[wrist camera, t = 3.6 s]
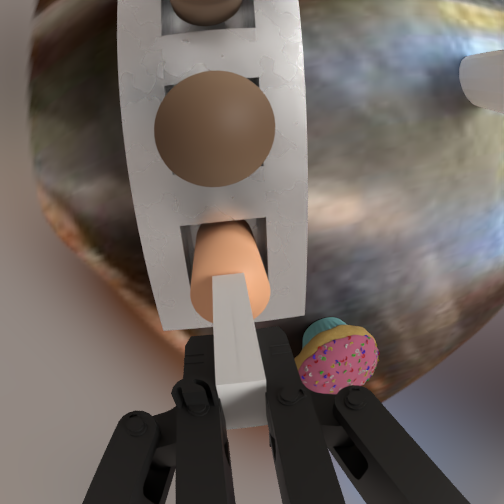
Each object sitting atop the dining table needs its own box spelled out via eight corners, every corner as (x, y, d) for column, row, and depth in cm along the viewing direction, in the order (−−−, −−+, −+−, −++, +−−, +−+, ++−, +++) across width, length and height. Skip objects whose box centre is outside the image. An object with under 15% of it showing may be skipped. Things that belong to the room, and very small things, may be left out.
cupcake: (372, 328, 31) (423, 409, 20) (314, 372, 33) (346, 458, 22) (331, 286, 28) (389, 380, 17) (266, 340, 29) (291, 442, 19)
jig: (140, -18, 14) (121, -52, 9) (271, -29, 15) (289, -65, 10) (171, 286, 25) (163, 330, 20) (286, 273, 26) (304, 315, 21)
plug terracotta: (192, 215, 20) (183, 263, 14) (251, 209, 20) (269, 254, 14) (200, 267, 22) (196, 329, 16) (254, 261, 22) (271, 321, 16)
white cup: (450, 94, 20) (504, 99, 14) (457, 38, 18) (508, 33, 11) (489, 122, 22) (537, 134, 16) (496, 70, 19) (542, 73, 13)
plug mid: (175, 94, 14) (149, 78, 8) (248, 87, 15) (272, 67, 8) (181, 163, 16) (161, 193, 10) (252, 156, 16) (277, 182, 10)
